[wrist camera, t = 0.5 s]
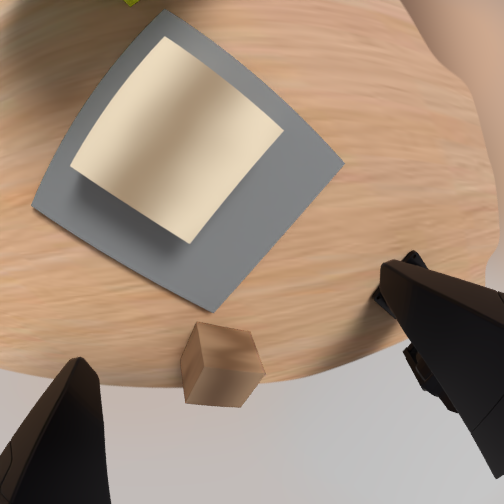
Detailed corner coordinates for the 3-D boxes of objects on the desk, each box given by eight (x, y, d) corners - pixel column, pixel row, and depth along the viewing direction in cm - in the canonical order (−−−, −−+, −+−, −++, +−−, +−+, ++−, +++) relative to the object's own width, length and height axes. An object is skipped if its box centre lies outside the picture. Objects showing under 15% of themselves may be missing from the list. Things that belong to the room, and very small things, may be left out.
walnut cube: (250, 331, 25) (265, 373, 21) (229, 366, 27) (240, 407, 23) (196, 321, 23) (204, 366, 19) (180, 359, 25) (185, 403, 21)
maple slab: (267, 126, 17) (284, 130, 14) (187, 223, 19) (189, 244, 16) (166, 48, 13) (164, 36, 10) (85, 156, 15) (69, 165, 12)
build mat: (340, 161, 20) (345, 163, 19) (212, 308, 23) (213, 313, 23) (164, 11, 12) (164, 8, 12) (34, 202, 15) (30, 205, 15)
